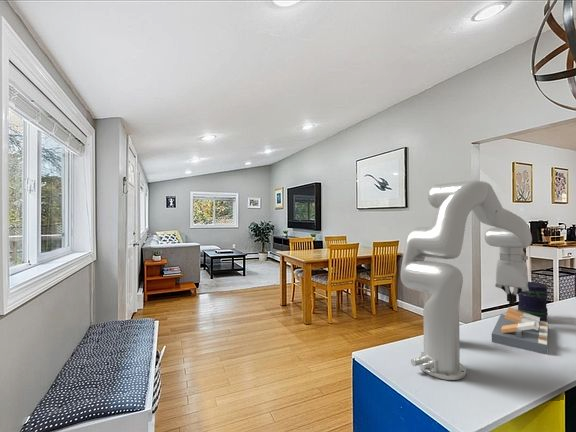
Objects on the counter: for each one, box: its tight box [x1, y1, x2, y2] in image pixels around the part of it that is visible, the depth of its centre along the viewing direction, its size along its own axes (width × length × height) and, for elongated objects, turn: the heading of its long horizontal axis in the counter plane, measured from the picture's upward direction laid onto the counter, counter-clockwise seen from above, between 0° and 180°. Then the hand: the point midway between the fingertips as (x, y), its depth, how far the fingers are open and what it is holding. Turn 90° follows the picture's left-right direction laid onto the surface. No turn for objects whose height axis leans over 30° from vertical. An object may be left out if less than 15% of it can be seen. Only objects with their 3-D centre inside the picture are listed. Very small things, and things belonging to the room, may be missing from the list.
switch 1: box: [506, 306, 540, 323], centre depth 117 cm, size 4×10×2 cm, turn 49°
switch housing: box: [491, 313, 549, 355], centre depth 111 cm, size 26×15×5 cm, turn 139°
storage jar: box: [517, 281, 549, 322], centre depth 128 cm, size 10×10×15 cm
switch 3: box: [501, 321, 536, 333], centre depth 105 cm, size 4×10×2 cm, turn 49°
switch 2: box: [504, 311, 539, 330], centre depth 111 cm, size 4×10×2 cm, turn 49°
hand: (511, 303), depth 119 cm, fingers closed
